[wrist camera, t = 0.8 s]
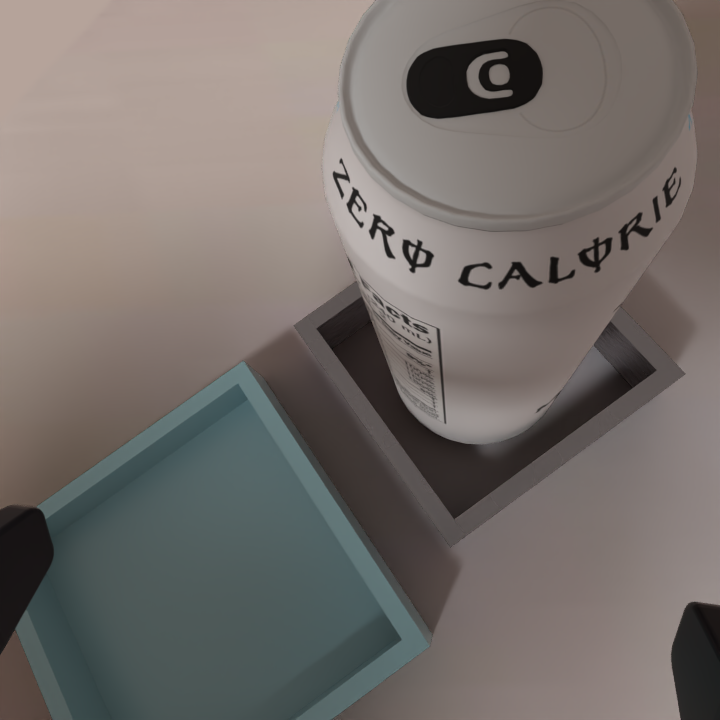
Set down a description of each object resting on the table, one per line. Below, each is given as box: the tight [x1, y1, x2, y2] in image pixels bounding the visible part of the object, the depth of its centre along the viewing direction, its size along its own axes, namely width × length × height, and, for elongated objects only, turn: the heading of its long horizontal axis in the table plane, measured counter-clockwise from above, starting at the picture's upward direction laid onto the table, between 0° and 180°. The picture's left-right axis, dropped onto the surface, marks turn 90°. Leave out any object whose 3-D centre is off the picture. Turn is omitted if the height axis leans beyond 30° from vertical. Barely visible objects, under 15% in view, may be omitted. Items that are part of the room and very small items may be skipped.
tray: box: [15, 361, 433, 720], centre depth 20 cm, size 11×11×2 cm
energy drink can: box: [321, 0, 698, 444], centre depth 15 cm, size 6×6×15 cm
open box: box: [294, 281, 685, 548], centre depth 21 cm, size 9×9×2 cm
